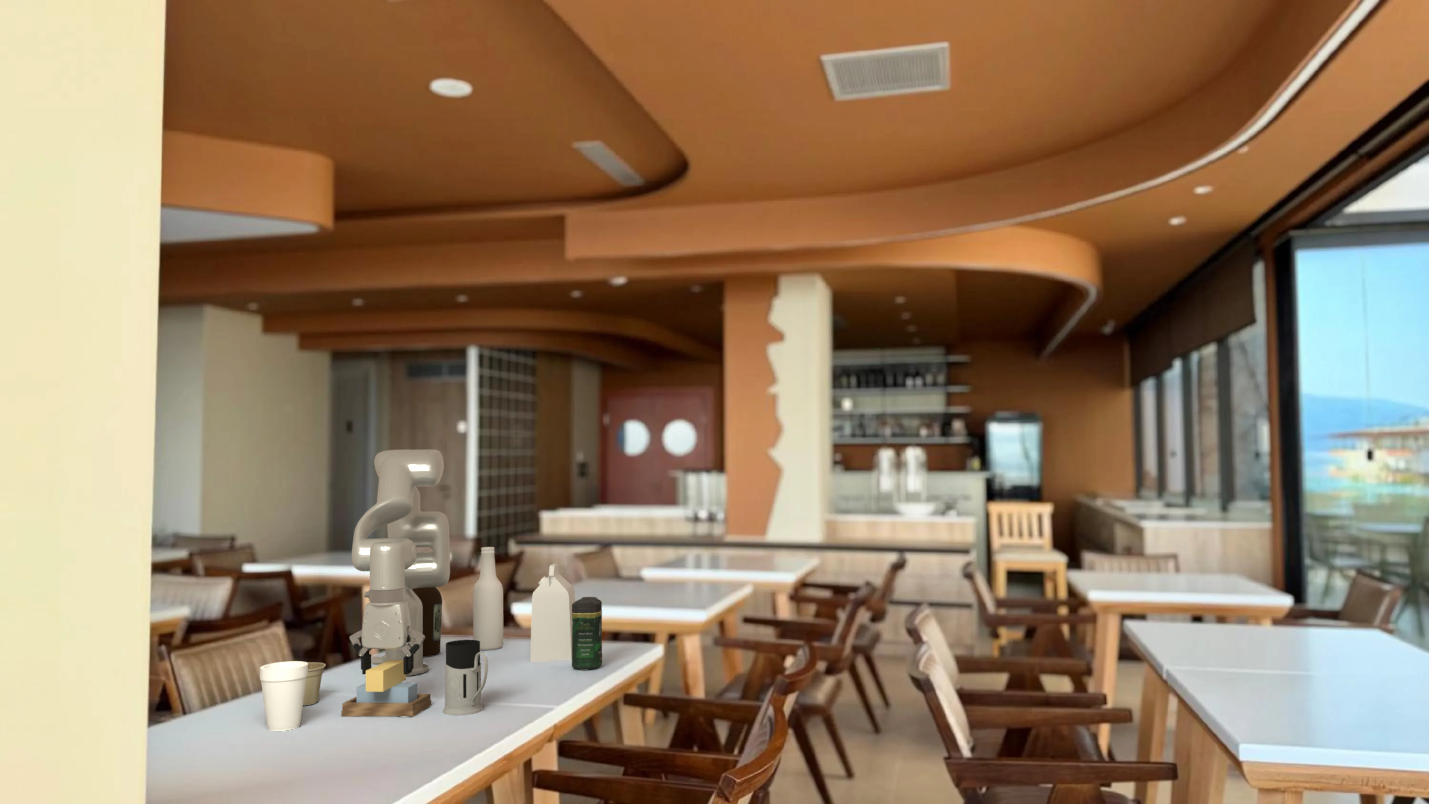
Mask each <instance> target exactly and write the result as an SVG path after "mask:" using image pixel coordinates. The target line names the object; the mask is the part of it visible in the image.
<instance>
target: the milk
mask: <svg viewBox="0 0 1429 804" xmlns="http://www.w3.org/2000/svg"><path fill="white" fill-rule="evenodd" d="M548 569H549V570H548V576H543V577H542V578H541V579H540V580H539V581H538V582H537V584H538V585H539V586H537V587H536V589H535V590H534V591H533V592H532V595H531V621H530V622H531V623H530V654H529V657H530V659H529V660H530V661H529V662H555V661H554V660H572V604H573V603H574V602H575V601H576V594H575V588H574V587H573V585H572V584H571V583H570V582H569V581H568V580H567V579H565V577H563V576H562V574H560V573H559V563H552V564H550V565H549V568H548Z"/></svg>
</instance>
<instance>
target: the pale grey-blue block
mask: <svg viewBox="0 0 1429 804" xmlns="http://www.w3.org/2000/svg"><path fill="white" fill-rule="evenodd" d="M417 694H418V682H401V683H399V684H397V685H395V686H393V687H391V688H389V689H387V690H385V691H384V692H366V682H365V683H363V684H361V685H359V686H356V697H357V702H363V703H411V702H413V701H415V700H416V699H417Z"/></svg>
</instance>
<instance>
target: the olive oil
mask: <svg viewBox="0 0 1429 804" xmlns="http://www.w3.org/2000/svg"><path fill="white" fill-rule="evenodd" d="M412 591H413V592H414V593H415V594H416V595H417V596H418V597H419V599H420V600H421V602H422V606H423V635H424V636H425V639H424V641H423V658H425V657H427V658H428V657H432V656H437V655H439V654H441V642H442V641H441V636H442V632H441V631H442V614H443V597H442V594H441V592H440V590H439V589H438V587H429V588H414V589H412Z"/></svg>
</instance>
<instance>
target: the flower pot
mask: <svg viewBox="0 0 1429 804" xmlns="http://www.w3.org/2000/svg"><path fill="white" fill-rule="evenodd" d="M307 663H308V676H307V677H306V684H305V692H304V699H303V705H308V706H312V705H311V704H313V705H316V702H317V703H318V702H319V697H320V690H321V689H320V688H321V682H322V677H323V673H324V670H325V667H326V665H327V664H326V663H324V662H314V661H313V662H307Z"/></svg>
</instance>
